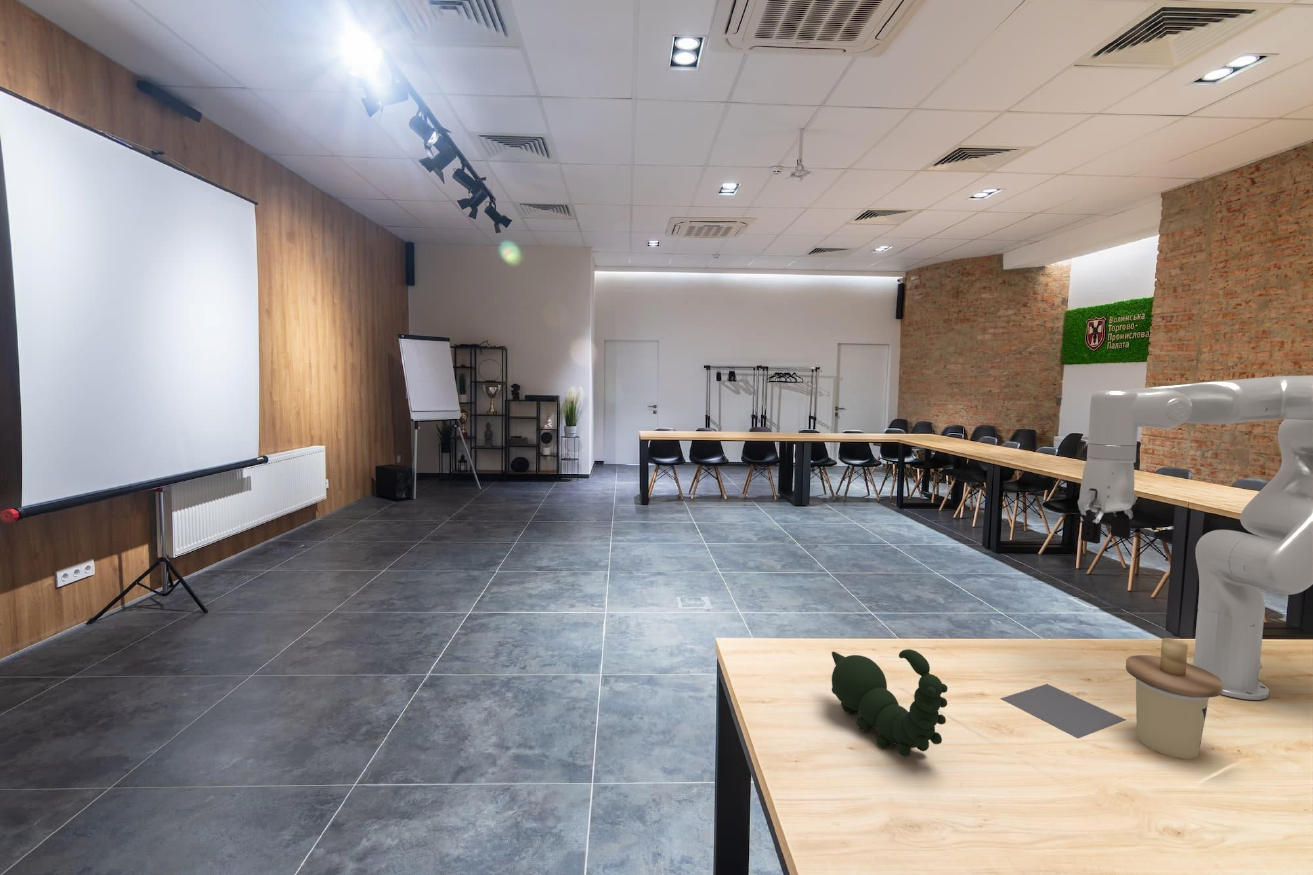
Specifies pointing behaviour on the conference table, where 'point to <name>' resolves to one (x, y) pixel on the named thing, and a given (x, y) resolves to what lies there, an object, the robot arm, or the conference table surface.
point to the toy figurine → (890, 701)
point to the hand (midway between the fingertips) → (1105, 539)
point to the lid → (1174, 671)
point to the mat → (1063, 710)
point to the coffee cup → (1169, 721)
